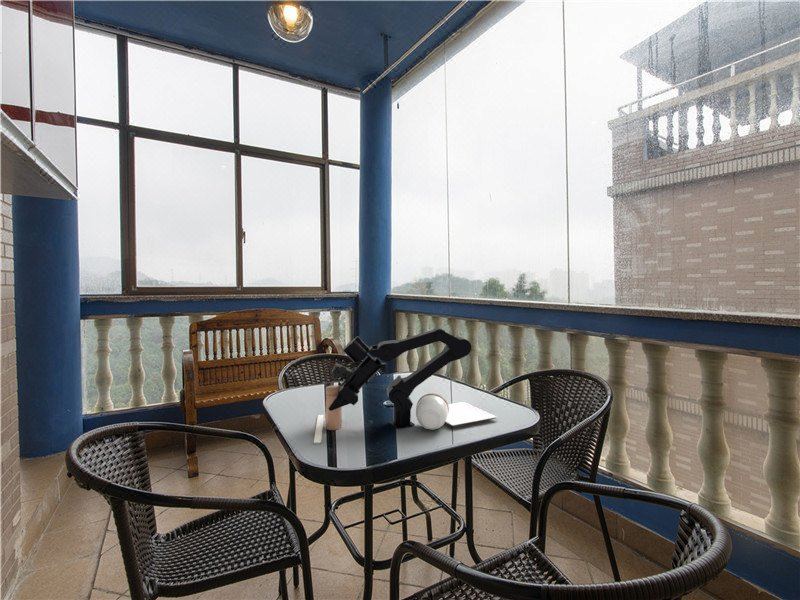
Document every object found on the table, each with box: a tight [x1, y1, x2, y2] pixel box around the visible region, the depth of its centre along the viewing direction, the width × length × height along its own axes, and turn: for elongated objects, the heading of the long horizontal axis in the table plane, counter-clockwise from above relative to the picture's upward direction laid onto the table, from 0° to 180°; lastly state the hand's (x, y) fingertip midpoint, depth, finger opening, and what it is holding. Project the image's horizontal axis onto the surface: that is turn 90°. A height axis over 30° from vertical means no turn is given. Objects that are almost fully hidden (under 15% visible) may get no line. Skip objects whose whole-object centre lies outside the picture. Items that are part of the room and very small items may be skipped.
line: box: [313, 414, 325, 445], centre depth 126 cm, size 24×2×1 cm, turn 9°
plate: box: [444, 401, 498, 427], centre depth 139 cm, size 19×19×2 cm
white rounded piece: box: [415, 393, 449, 431], centre depth 127 cm, size 11×11×9 cm
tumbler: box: [325, 384, 343, 431], centre depth 127 cm, size 5×5×13 cm
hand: (329, 407), depth 127 cm, fingers closed on tumbler, 5 cm apart
